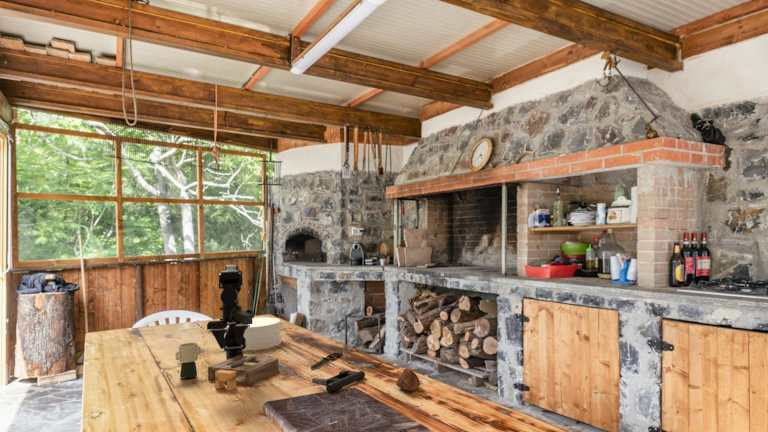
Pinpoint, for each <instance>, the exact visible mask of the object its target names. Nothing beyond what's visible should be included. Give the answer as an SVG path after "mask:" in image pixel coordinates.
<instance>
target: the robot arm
mask: <svg viewBox="0 0 768 432" xmlns="http://www.w3.org/2000/svg"><path fill="white" fill-rule="evenodd" d="M243 278H244V277H243V271H242V270H240V269H239V265H238V264H226V265H225V268H224V269H223V270H221V272H220V273H219V274H218V289H219V290H220V289H222V292H221V293H220V300H221V302H222V303H221V304H222V307H219V311H222V313H221V315H222V316H221V318H219V320H211V321H207V323H206V330H207V331H208V330H209V332H210V333H212V336H213V338H214V339H215V341H216V342H217V344H218V346H219V349H220V350H221V349H223V352H225V357H226V359H225V360H228V359H230V358H233V357H236V356H239V355H241V356H244V351H242V349H245V348H246V338H244V332H245V330H246V329H247V328H248V327H250V325H249V324H252V318H255V314H254V313H255V311H254V310H253V309H247V310H242V305H239V294H240V292H241V291H242V286H243V284H244V281H243ZM227 326H229V327H228V329H226V327H227ZM241 345H243V346H241ZM226 346H227V347H226Z"/></svg>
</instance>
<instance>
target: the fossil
mask: <svg viewBox="0 0 768 432" xmlns="http://www.w3.org/2000/svg"><path fill="white" fill-rule="evenodd" d="M395 385H396V386H397V387H398V388H400V389H402V390H404V391H406V392H414V391H417V390H418V389H419V387H420V386H421V381H420V378H419V377H418V375H417V374H416V373H415V371H414V370H413V369H409V368H404V369H403V371H402V373H401V374H400V376H399V377H398V379H397V381H396V383H395Z"/></svg>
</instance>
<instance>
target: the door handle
mask: <svg viewBox="0 0 768 432" xmlns="http://www.w3.org/2000/svg"><path fill="white" fill-rule="evenodd" d="M365 376H366V373H365V372H364V371H363V370H360V371H355V370H344V369H343V370H340V371H339V373H338V374H337V375H334V376H332V377H329V378H320V377H313V378H311V383H314V384H318V385H323V386H325V390H326V392H327V393H333V392H332V391H334V392H337V391H339V390H340V389H342V390H343V389H345V388H348V387H350V386H352V385H354V384H356V383H358V382H359V381H361V380H363V379H364V378H365Z"/></svg>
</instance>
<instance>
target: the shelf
mask: <svg viewBox="0 0 768 432" xmlns="http://www.w3.org/2000/svg"><path fill="white" fill-rule="evenodd" d="M244 363H250V364H251V363H252V364H251V365H249V366H244ZM219 370H228V371H236V374H243V375H245V379H244V380H245V381H244V382H245V385H252V384H254V383H257V382H258V381H260V380H263V379H265V378H267V377H269V376H271V375H273V374H275V373H277V372H279V358H275V357H265V356H263V357H262V356H258V355H257V353H256V354H251V355H250V356H249V355H243V356H241V355H239V356H236V357H233V358H230V359H228V360H226V359H225V360H222V361H220V362H216V363H215V364H212V365H209V366H208V367H207V380H208V381H213V380H214V381H215V372H216V371H219Z"/></svg>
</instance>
